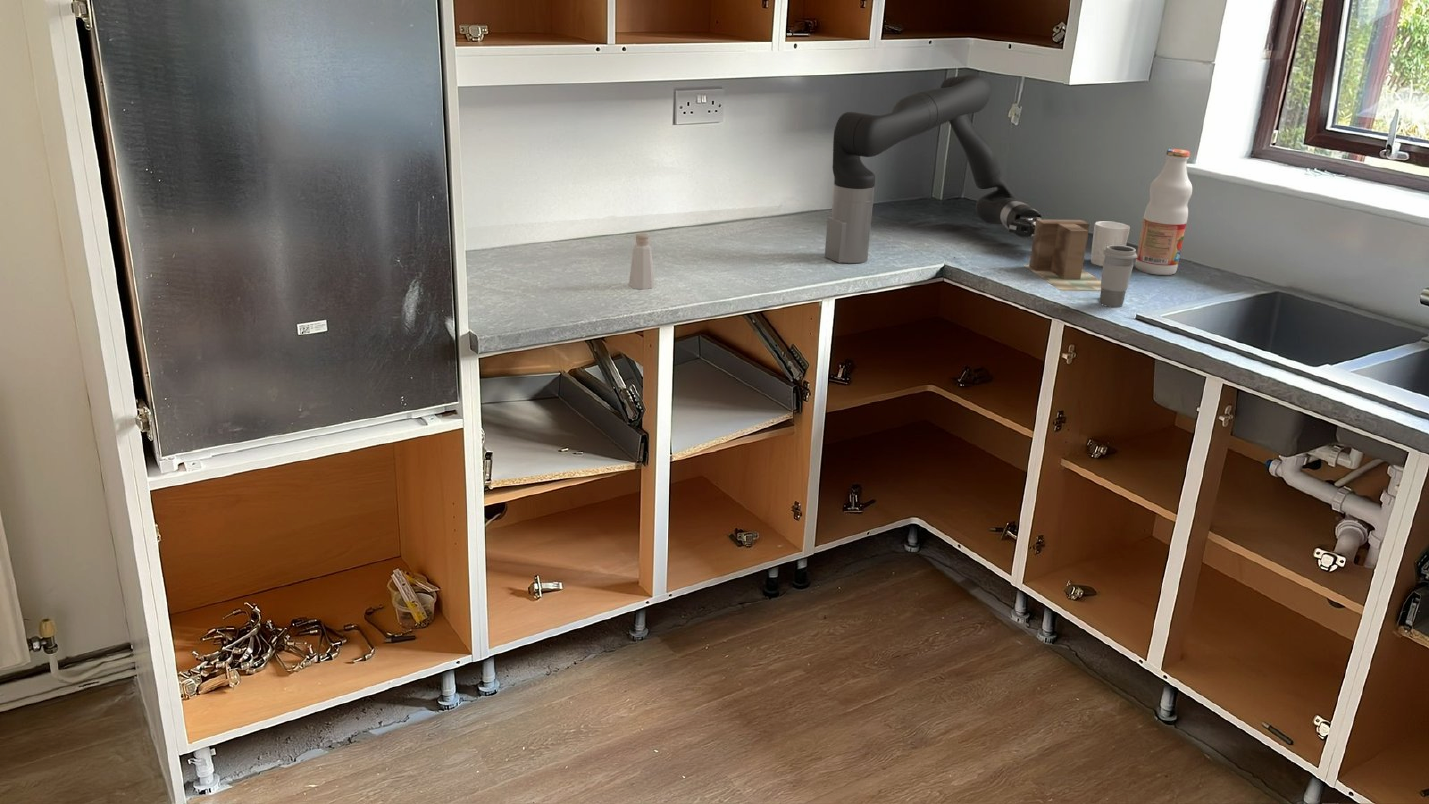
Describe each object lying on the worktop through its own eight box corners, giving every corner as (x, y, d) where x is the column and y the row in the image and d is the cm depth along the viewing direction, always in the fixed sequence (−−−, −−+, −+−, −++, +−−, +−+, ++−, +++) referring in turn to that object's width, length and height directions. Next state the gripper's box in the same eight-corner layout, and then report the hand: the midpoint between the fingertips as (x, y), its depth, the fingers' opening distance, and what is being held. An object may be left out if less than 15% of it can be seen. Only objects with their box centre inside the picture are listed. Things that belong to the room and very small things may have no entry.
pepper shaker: (639, 280, 232) (640, 229, 228) (659, 285, 230) (661, 234, 225) (623, 286, 228) (623, 234, 224) (643, 291, 225) (644, 238, 221)
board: (1022, 268, 256) (1023, 265, 255) (1075, 268, 257) (1076, 265, 257) (1060, 294, 236) (1061, 290, 236) (1117, 294, 238) (1117, 290, 238)
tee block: (1029, 266, 254) (1036, 219, 250) (1073, 266, 256) (1081, 219, 252) (1048, 279, 244) (1056, 230, 240) (1095, 279, 246) (1103, 231, 242)
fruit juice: (1127, 264, 263) (1149, 146, 252) (1165, 265, 264) (1188, 147, 253) (1144, 275, 254) (1168, 153, 244) (1183, 276, 255) (1208, 154, 244)
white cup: (1125, 265, 262) (1133, 224, 258) (1118, 272, 256) (1126, 230, 252) (1091, 260, 266) (1099, 219, 262) (1084, 267, 259) (1091, 225, 256)
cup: (1102, 297, 235) (1112, 242, 231) (1132, 304, 231) (1143, 248, 227) (1088, 303, 230) (1098, 247, 226) (1119, 310, 226) (1130, 254, 222)
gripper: (997, 203, 270) (1024, 219, 254) (1048, 204, 272) (1078, 220, 256) (992, 233, 273) (1019, 251, 257) (1043, 233, 275) (1073, 251, 259)
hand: (1048, 235), depth 257 cm, fingers closed
